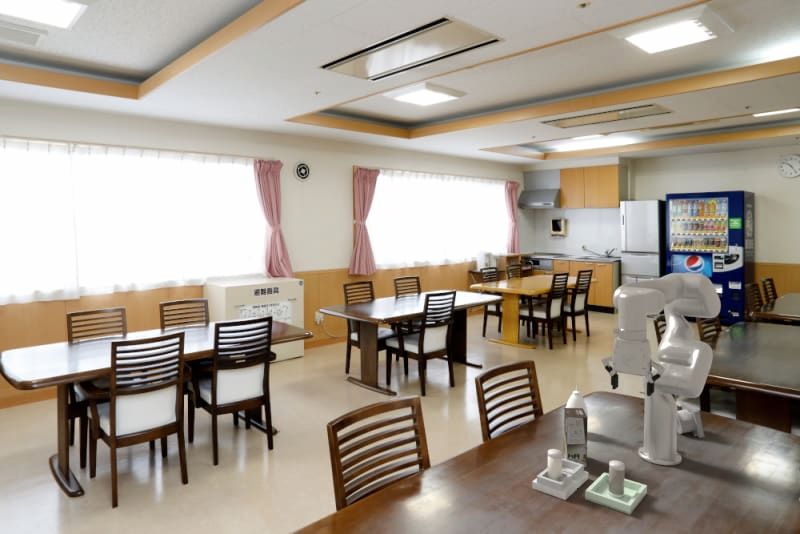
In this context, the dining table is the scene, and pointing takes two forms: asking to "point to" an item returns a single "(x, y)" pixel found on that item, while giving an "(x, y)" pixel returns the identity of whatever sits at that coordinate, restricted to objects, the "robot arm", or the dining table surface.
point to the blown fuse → (616, 478)
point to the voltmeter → (688, 420)
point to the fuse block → (560, 476)
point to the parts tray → (626, 504)
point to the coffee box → (575, 435)
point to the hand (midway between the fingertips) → (632, 391)
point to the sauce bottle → (577, 401)
